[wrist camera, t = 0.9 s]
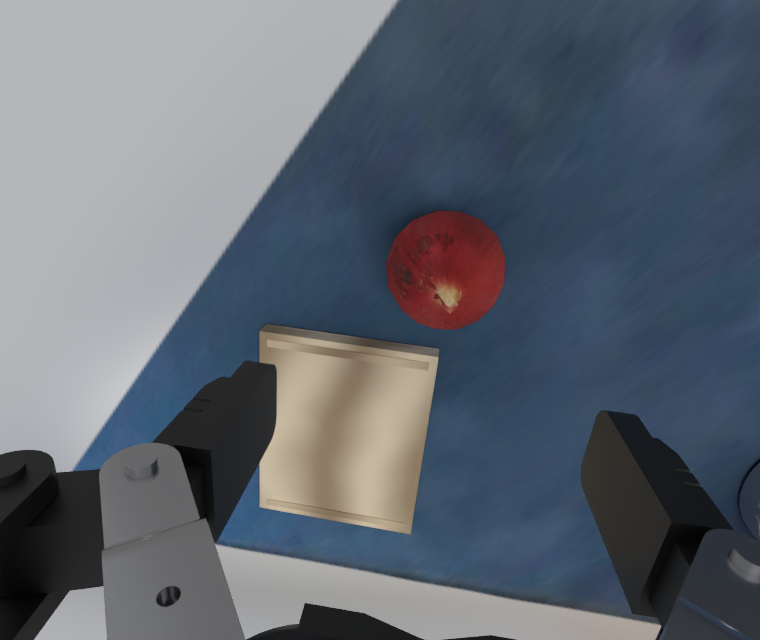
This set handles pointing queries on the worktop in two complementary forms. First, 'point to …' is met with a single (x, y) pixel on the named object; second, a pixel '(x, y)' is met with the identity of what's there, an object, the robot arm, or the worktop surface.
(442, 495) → the worktop surface
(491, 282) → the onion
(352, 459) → the board
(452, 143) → the worktop surface
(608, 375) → the worktop surface
